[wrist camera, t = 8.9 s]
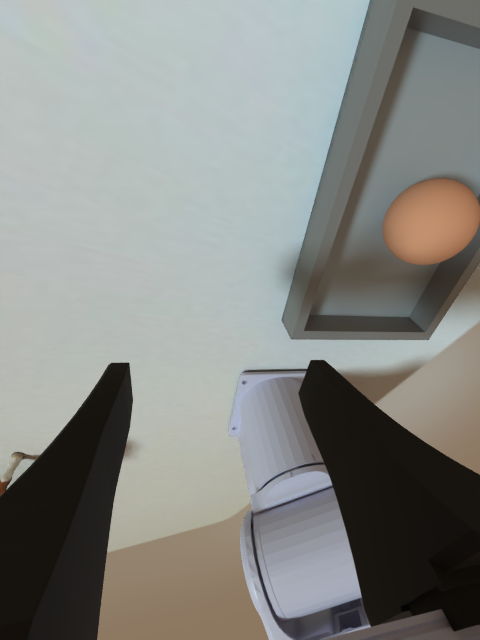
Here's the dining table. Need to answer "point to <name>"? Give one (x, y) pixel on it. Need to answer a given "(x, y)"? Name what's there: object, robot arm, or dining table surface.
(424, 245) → the ball
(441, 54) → the walled pen
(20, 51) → the dining table surface
